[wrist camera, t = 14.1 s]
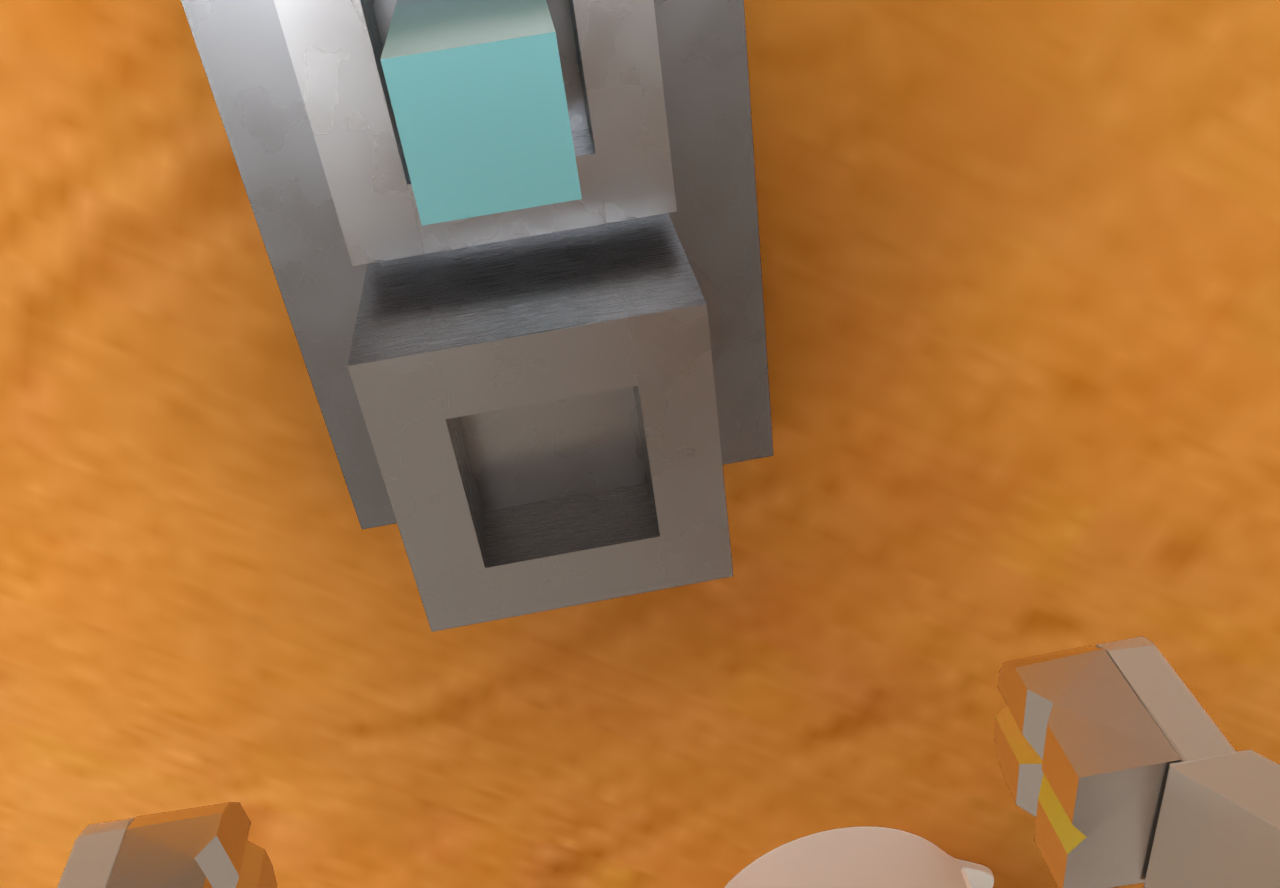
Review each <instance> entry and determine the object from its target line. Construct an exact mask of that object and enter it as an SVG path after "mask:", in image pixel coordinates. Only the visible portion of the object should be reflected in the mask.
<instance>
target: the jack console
mask: <svg viewBox="0 0 1280 888" xmlns="http://www.w3.org/2000/svg"><path fill="white" fill-rule="evenodd" d="M181 2H182V5H183V8H184V11H185V14H186V16H187V19H188V22H189V25H190V28H191V31H192V34H193V37H194V40H195V43H196V46H197V49H198V52H199V54H200V57H201V60H202V63H203V66H204V69H205V72H206V75H207V78H208V81H209V84H210V87H211V90H212V92H213V95H214V98H215V101H216V104H217V107H218V110H219V113H220V116H221V119H222V122H223V125H224V128H225V130H226V133H227V136H228V139H229V142H230V145H231V148H232V151H233V154H234V157H235V160H236V163H237V166H238V168H239V171H240V174H241V177H242V180H243V183H244V186H245V189H246V192H247V195H248V198H249V201H250V204H251V206H252V209H253V212H254V215H255V218H256V221H257V224H258V227H259V230H260V233H261V236H262V239H263V242H264V244H265V247H266V250H267V253H268V256H269V259H270V262H271V265H272V268H273V271H274V274H275V277H276V280H277V282H278V285H279V288H280V291H281V294H282V297H283V300H284V303H285V306H286V309H287V312H288V315H289V318H290V320H291V323H292V326H293V329H294V332H295V335H296V338H297V341H298V344H299V347H300V350H301V353H302V356H303V358H304V361H305V364H306V367H307V370H308V373H309V376H310V379H311V382H312V385H313V388H314V391H315V394H316V396H317V399H318V402H319V405H320V408H321V411H322V414H323V417H324V420H325V423H326V426H327V429H328V432H329V434H330V437H331V440H332V443H333V446H334V449H335V452H336V455H337V458H338V461H339V464H340V467H341V470H342V472H343V475H344V478H345V481H346V484H347V487H348V490H349V493H350V496H351V499H352V502H353V505H354V508H355V510H356V513H357V516H358V519H359V522H360V525H361V528H362V529H367V528H372V527H378V526H383V525H389V524H395V523H397V524H398V527H399V530H400V533H401V536H402V539H403V543H404V546H405V549H406V552H407V555H408V558H409V562H410V565H411V568H412V571H413V574H414V577H415V580H416V584H417V587H418V590H419V593H420V596H421V599H422V602H423V606H424V609H425V612H426V615H427V618H428V621H429V625H430V628H431V631H432V632H433V631H438V630H444V629H449V628H455V627H460V626H465V625H471V624H476V623H482V622H487V621H493V620H498V619H503V618H509V617H514V616H520V615H525V614H531V613H536V612H542V611H547V610H552V609H558V608H563V607H569V606H574V605H580V604H585V603H590V602H596V601H601V600H607V599H612V598H618V597H623V596H629V595H634V594H639V593H645V592H650V591H656V590H661V589H667V588H672V587H678V586H683V585H688V584H694V583H699V582H705V581H710V580H716V579H721V578H726V577H732V576H733V567H732V557H731V547H730V537H729V526H728V516H727V506H726V496H725V486H724V476H723V466H722V465H724V464H729V463H735V462H740V461H746V460H751V459H757V458H763V457H768V456H773V441H772V426H771V411H770V396H769V380H768V365H767V350H766V335H765V319H764V304H763V289H762V274H761V258H760V243H759V228H758V213H757V197H756V182H755V167H754V152H753V136H752V121H751V106H750V91H749V75H748V60H747V45H746V30H745V14H744V0H546V2H547V5H548V8H549V12H550V15H551V18H552V22H553V25H554V28H555V32H556V38H557V44H558V50H559V57H560V63H561V69H562V76H563V82H564V88H565V95H566V101H567V107H568V114H569V120H570V126H571V132H572V139H573V145H574V151H575V158H576V164H577V170H578V177H579V183H580V189H581V196H582V199H579V200H573V201H567V202H561V203H555V204H549V205H543V206H537V207H531V208H525V209H519V210H513V211H507V212H501V213H495V214H489V215H483V216H477V217H471V218H464V219H458V220H452V221H446V222H440V223H434V224H428V225H422V224H421V220H420V216H419V212H418V208H417V204H416V200H415V196H414V192H413V188H412V184H411V180H410V176H409V172H408V168H407V164H406V160H405V156H404V152H403V148H402V144H401V140H400V136H399V132H398V128H397V124H396V120H395V116H394V112H393V108H392V104H391V100H390V96H389V92H388V88H387V84H386V80H385V76H384V72H383V68H382V64H381V60H380V59H381V56H382V52H383V49H384V45H385V41H386V38H387V34H388V31H389V27H390V24H391V20H392V17H393V13H394V10H395V6H396V3H397V0H181Z"/></svg>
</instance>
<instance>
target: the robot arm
mask: <svg viewBox="0 0 1280 888" xmlns="http://www.w3.org/2000/svg"><path fill="white" fill-rule="evenodd" d="M998 690H999V691H1000V693H1001V695H1002V697H1003V699H1004V701H1005V703H1006V706H1005V707H1004V708H1003V709H1002V710H1001V711H1000V713H999V714H998V715H997V716H996V717H995V744H996V750H997V755H998V761H999V765H1000V768H1001V771H1002V774H1003V777H1004V779H1005V782H1006V785H1007V787H1008V789H1009V791H1010V793H1011V795H1012V797H1013V799H1014V801H1015V803H1016V805H1018V806H1019V807H1021V808H1023V809H1024V810H1026V811H1027V812H1029V813H1030V814H1032V815H1033V816H1035V817H1036V824H1035V834H1034V841H1035V843H1036V845H1037V847H1038V849H1039V851H1040V853H1041V855H1042V857H1043V859H1044V861H1045V863H1046V865H1047V867H1048V868H1049V870H1050V872H1051V874H1052V876H1053V878H1054V880H1055V882H1056V884H1057V886H1058V888H1111V887H1118V886H1124V885H1130V884H1137V883H1143V882H1145V883H1144V887H1145V888H1280V765H1279V764H1277V763H1275V762H1274V761H1272V760H1270V759H1268V758H1266V757H1264V756H1262V755H1260V754H1258V753H1256V752H1254V751H1252V750H1245V751H1238V752H1236V750H1235V749H1234V748H1233V746H1232V745H1231V744H1230V743H1229V741H1228V740H1227V739H1226V737H1225V736H1224V735H1223V733H1222V732H1221V731H1220V729H1219V728H1218V727H1217V726H1216V724H1215V723H1214V722H1213V720H1212V719H1211V718H1210V716H1209V715H1208V714H1207V712H1206V711H1205V710H1204V709H1203V707H1202V706H1201V705H1200V703H1199V702H1198V701H1197V699H1196V698H1195V697H1194V695H1193V694H1192V693H1191V692H1190V690H1189V689H1188V688H1187V686H1186V685H1185V684H1184V682H1183V681H1182V680H1181V678H1180V677H1179V676H1178V675H1177V673H1176V672H1175V671H1174V669H1173V668H1172V667H1171V665H1170V664H1169V663H1168V661H1167V660H1166V659H1165V657H1164V656H1163V655H1162V654H1161V652H1160V651H1159V650H1158V648H1157V647H1156V646H1155V644H1154V643H1153V642H1152V641H1150V640H1148V639H1147V638H1145V637H1143V636H1141V637H1136V638H1130V639H1125V640H1120V641H1114V642H1109V643H1103V644H1098V645H1096V646H1091V645H1090V646H1085V647H1079V648H1074V649H1069V650H1064V651H1059V652H1053V653H1048V654H1043V655H1038V656H1032V657H1027V658H1022V659H1017V660H1012V661H1006V662H1004V663H1003V665H1002V667H1001V669H1000V670H999V679H998ZM250 825H251V821H250V820H249V818H248V816H247V814H246V813H245V811H244V809H243V807H242V806H241V804H240V802H228V803H222V804H215V805H209V806H202V807H196V808H189V809H183V810H176V811H170V812H163V813H157V814H150V815H144V816H137V817H134V818H128V819H122V820H116V821H109V822H103V823H97V824H91V825H88V826H87V827H86V828H85V829H84V831H83V832H82V833H81V834H80V835H79V836H78V837H77V839H76V840H75V843H74V845H73V848H72V850H71V853H70V856H69V858H68V861H67V863H66V866H65V868H64V871H63V873H62V876H61V879H60V881H59V884H58V886H57V888H277V882H276V878H275V874H274V870H273V866H272V863H271V861H270V859H269V857H268V855H267V853H266V851H265V849H263V848H261V847H259V846H257V845H255V844H253V843H251V842H249V841H247V839H248V835H249V830H250ZM993 885H994V877H993V874H992V871H991V870H990V869H989V868H988V867H986V866H983V865H981V864H977V863H973V862H969V861H965V860H960V859H956V858H954V857H952V856H950V855H948V854H947V853H945V852H944V851H943V850H941V849H940V848H939V847H937V846H936V845H934V844H933V843H931V842H930V841H928V840H926V839H924V838H922V837H920V836H917V835H915V834H912V833H909V832H906V831H902V830H898V829H892V828H885V827H868V826H864V827H847V828H839V829H833V830H828V831H823V832H819V833H815V834H811V835H808V836H805V837H802V838H799V839H796V840H793V841H791V842H789V843H786V844H784V845H782V846H779V847H777V848H775V849H773V850H771V851H770V852H768V853H766V854H764V855H763V856H761V857H759V858H758V859H756V860H755V861H753V862H752V863H751V864H749V865H748V866H747V867H745V868H744V869H743V870H742V871H740V872H739V873H738V874H737V875H736V876H735V877H734V878H733V879H732V880H731V881H730V882H729V883H728V884H727V885H726V886H725V887H724V888H992V887H993Z"/></svg>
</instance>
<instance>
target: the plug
mask: <svg viewBox="0 0 1280 888" xmlns="http://www.w3.org/2000/svg"><path fill="white" fill-rule="evenodd" d="M380 60H381V64H382V68H383V72H384V76H385V80H386V84H387V88H388V92H389V96H390V100H391V104H392V108H393V112H394V116H395V120H396V124H397V128H398V132H399V136H400V140H401V144H402V148H403V152H404V156H405V160H406V164H407V168H408V172H409V176H410V180H411V184H412V188H413V192H414V196H415V200H416V204H417V208H418V212H419V216H420V220H421V224H422V225H428V224H434V223H440V222H446V221H452V220H458V219H464V218H471V217H477V216H483V215H489V214H495V213H501V212H507V211H513V210H519V209H525V208H531V207H537V206H543V205H549V204H555V203H561V202H567V201H573V200H579V199H582V196H581V189H580V183H579V177H578V170H577V164H576V158H575V151H574V145H573V139H572V132H571V126H570V120H569V114H568V107H567V101H566V95H565V88H564V82H563V76H562V69H561V63H560V57H559V50H558V44H557V38H556V32H555V28H554V25H553V22H552V18H551V15H550V12H549V8H548V5H547V2H546V0H397V3H396V6H395V10H394V13H393V17H392V20H391V24H390V27H389V31H388V34H387V38H386V41H385V45H384V49H383V52H382V56H381V59H380Z"/></svg>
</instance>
